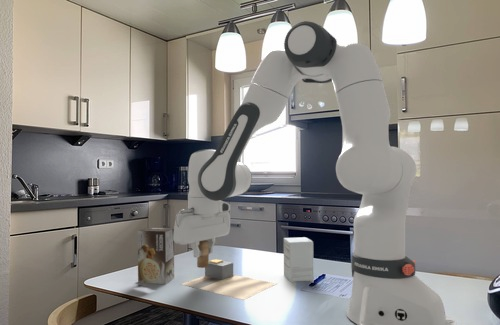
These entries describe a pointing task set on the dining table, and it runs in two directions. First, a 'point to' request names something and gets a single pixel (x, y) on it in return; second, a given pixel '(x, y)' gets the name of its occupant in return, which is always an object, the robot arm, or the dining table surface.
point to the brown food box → (155, 255)
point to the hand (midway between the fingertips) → (203, 255)
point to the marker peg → (203, 254)
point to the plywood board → (230, 286)
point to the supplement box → (298, 259)
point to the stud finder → (219, 269)
